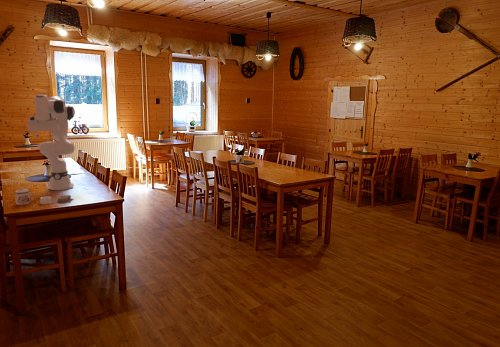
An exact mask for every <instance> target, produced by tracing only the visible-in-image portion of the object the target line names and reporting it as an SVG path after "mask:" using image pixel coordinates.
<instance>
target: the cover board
mask: <svg viewBox="0 0 500 347" xmlns="http://www.w3.org/2000/svg"><path fill="white" fill-rule="evenodd" d="M70 199H72V198H71V194H66V195H60V196H59V197H58V198H57V201H58V203H57V204H66V203H65V202H68V201H69V200H70Z"/></svg>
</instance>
